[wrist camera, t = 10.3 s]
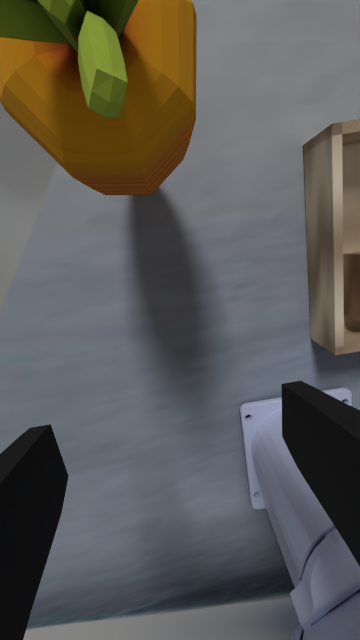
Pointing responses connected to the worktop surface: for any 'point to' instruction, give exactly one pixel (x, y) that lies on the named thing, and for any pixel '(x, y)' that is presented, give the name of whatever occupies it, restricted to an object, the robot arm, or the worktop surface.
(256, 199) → the worktop surface
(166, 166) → the carrot
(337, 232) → the storage box
